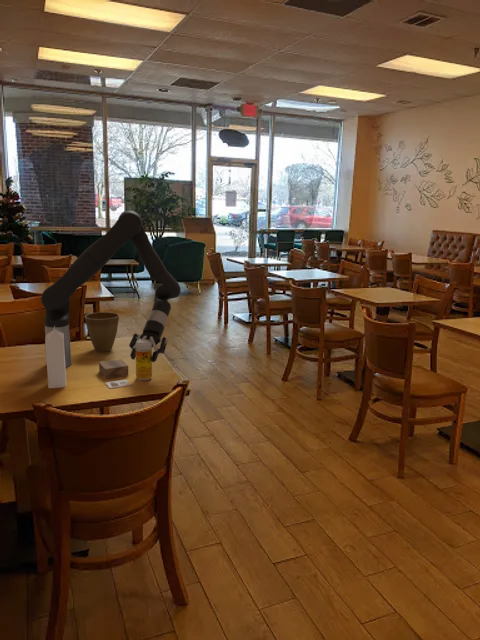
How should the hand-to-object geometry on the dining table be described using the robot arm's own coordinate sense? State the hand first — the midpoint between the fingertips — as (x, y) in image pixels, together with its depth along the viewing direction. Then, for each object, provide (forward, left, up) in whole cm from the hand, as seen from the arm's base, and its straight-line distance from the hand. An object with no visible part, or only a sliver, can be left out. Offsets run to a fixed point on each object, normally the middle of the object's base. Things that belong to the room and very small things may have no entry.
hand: (142, 360), depth 193 cm
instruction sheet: (-10, -1, -8) cm, 13 cm away
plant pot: (-3, +44, -8) cm, 45 cm away
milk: (-30, +8, -8) cm, 32 cm away
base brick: (-8, +11, -8) cm, 16 cm away
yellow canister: (+1, +1, -8) cm, 8 cm away
